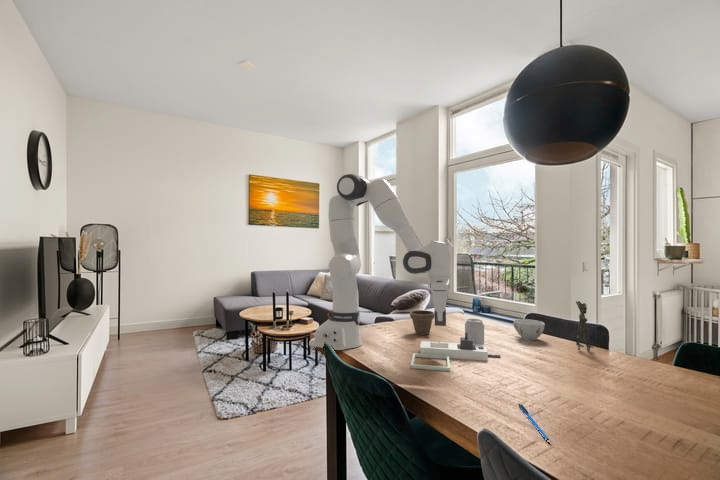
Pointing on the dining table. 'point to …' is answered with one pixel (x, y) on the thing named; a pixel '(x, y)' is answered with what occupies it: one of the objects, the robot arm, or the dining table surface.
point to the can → (475, 330)
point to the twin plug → (466, 342)
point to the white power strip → (455, 350)
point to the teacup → (529, 328)
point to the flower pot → (422, 321)
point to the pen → (532, 420)
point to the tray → (429, 365)
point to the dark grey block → (440, 323)
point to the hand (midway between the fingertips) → (440, 319)
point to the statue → (582, 326)
